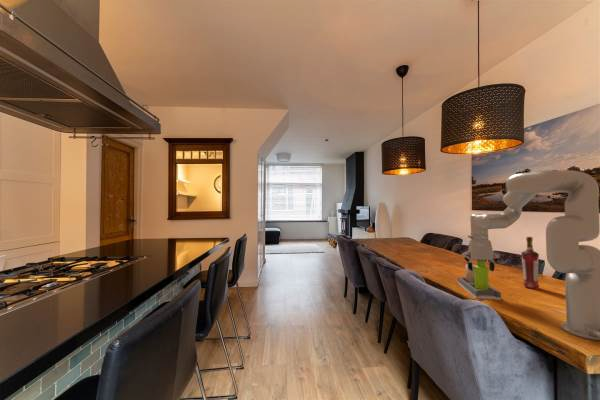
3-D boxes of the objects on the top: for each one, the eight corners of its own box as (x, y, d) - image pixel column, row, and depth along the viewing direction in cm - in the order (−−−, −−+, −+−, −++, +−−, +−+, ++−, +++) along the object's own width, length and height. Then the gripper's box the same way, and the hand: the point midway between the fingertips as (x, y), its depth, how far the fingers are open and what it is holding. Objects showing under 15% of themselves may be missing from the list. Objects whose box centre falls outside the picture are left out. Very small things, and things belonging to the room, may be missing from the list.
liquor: (523, 284, 151) (521, 235, 152) (540, 287, 146) (539, 236, 146) (521, 287, 146) (519, 237, 147) (539, 290, 141) (537, 238, 141)
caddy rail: (501, 299, 129) (500, 275, 129) (475, 298, 131) (474, 274, 131) (478, 284, 154) (478, 263, 154) (457, 283, 156) (457, 262, 157)
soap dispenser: (493, 294, 134) (492, 254, 134) (478, 293, 135) (477, 254, 135) (487, 290, 139) (486, 252, 140) (473, 289, 141) (472, 252, 141)
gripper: (463, 238, 137) (465, 271, 136) (502, 238, 132) (503, 272, 132) (458, 236, 144) (460, 268, 143) (495, 236, 140) (496, 269, 139)
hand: (481, 270), depth 138 cm, fingers open, 9 cm apart
